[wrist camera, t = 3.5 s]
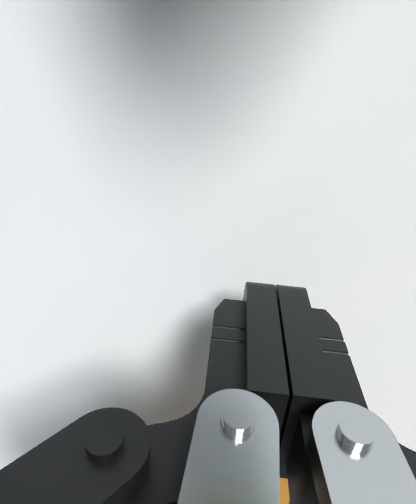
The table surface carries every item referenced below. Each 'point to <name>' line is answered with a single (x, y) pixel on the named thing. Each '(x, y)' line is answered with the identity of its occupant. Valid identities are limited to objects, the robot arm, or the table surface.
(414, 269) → the table surface
